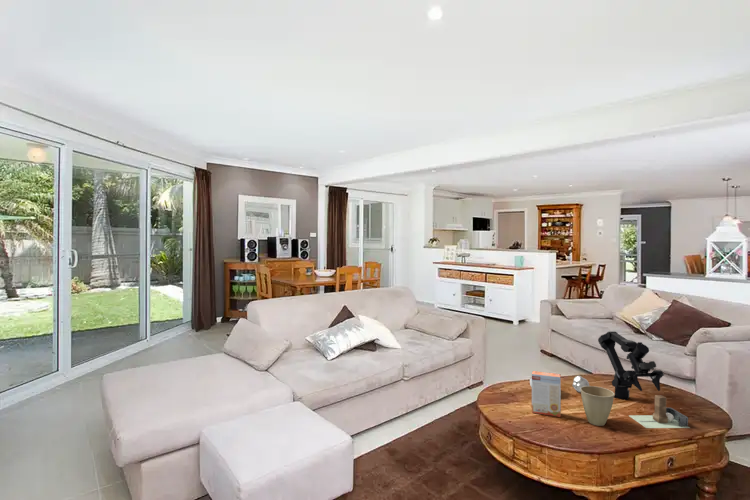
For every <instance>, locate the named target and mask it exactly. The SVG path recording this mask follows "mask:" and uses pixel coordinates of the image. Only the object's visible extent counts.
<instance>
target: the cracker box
mask: <svg viewBox="0 0 750 500" xmlns="http://www.w3.org/2000/svg"><path fill="white" fill-rule="evenodd" d="M561 377H562V376H561V374H559V373H551V372H544V371H543V372H542V371H538V370H537V371H534V370H533V371H532V373H531V378H532V387H531V413H532V414H539V415H545V416H551V417H558V418H560V417H561V415H562V413H561V412H562V411H561V410H562V409H561V408H562V407H561V406H562V405H561V404H562V403H561V400H562V399H561V398H562V394H561V391H562V390H561V388H562V386H561V385H562V384H561Z"/></svg>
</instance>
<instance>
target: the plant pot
mask: <svg viewBox="0 0 750 500" xmlns="http://www.w3.org/2000/svg"><path fill="white" fill-rule="evenodd" d="M580 395H581V401H582V406H583V410H584V414H585V417H586V419H587V422H588V423H589V424H591V425H593V426H598V427H601V426H605V424H606V423H607V421H608V418H609V416H610V414H611V410H612V408H613V404H614V400H615V397H614V396H615V391H612V390H610V389H608V388H605V387H601V386H594V385H593V386H592V385H589V386H583V387H581V393H580Z"/></svg>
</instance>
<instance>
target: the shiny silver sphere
mask: <svg viewBox="0 0 750 500" xmlns="http://www.w3.org/2000/svg"><path fill="white" fill-rule="evenodd" d="M583 386H590V382H589V381H588V379H586V378H584V377H582V375H576V376H575V377H574V378H573V382H572V387H573V389H575V391H576V392H578V393H580V394H581V387H583Z"/></svg>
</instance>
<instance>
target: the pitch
mask: <svg viewBox="0 0 750 500" xmlns="http://www.w3.org/2000/svg"><path fill="white" fill-rule="evenodd" d="M628 417H629V418H631V419H633V420H634V421H635V422H637V423H638V424H640V425H641V426H643V427H644V428H645V429H691V427H690V426H688V427H680V426H679V422H678V421H676V420H673V421H672V422H669V421H668V423H658V422H657V421H655V420H654V419H653V414H651V415H650V414H649V415H641V414H639V415H631V414H630V415H628Z"/></svg>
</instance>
